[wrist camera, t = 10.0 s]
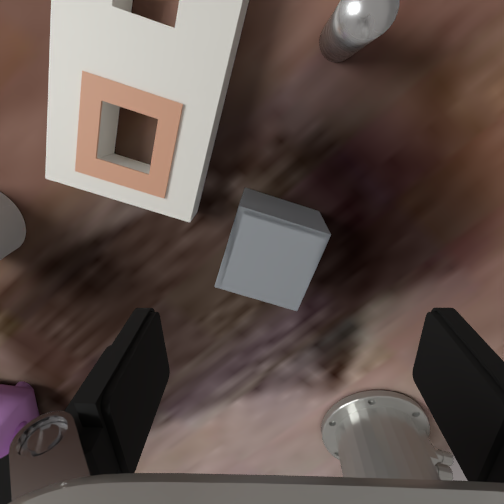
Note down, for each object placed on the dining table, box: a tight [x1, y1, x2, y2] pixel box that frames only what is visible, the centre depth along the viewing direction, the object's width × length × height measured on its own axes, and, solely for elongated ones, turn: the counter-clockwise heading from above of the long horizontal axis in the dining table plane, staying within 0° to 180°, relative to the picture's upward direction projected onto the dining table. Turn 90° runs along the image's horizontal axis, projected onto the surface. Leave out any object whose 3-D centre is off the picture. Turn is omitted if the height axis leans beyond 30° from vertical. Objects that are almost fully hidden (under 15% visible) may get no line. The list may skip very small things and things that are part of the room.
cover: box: [215, 188, 331, 311], centre depth 27 cm, size 7×7×6 cm
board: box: [45, 0, 249, 222], centre depth 23 cm, size 12×20×3 cm, turn 163°
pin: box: [319, 0, 399, 62], centre depth 19 cm, size 3×3×8 cm
